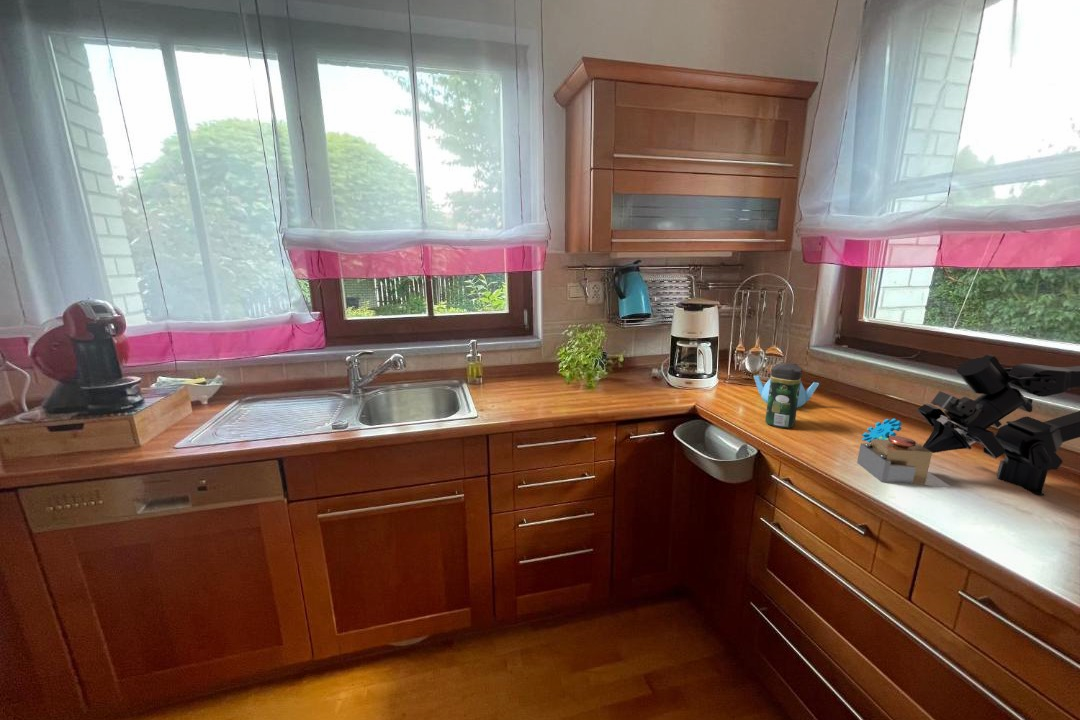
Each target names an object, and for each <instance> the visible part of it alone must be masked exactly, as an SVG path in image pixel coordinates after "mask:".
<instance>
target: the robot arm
mask: <svg viewBox="0 0 1080 720" xmlns="http://www.w3.org/2000/svg"><path fill="white" fill-rule="evenodd" d="M956 373H957V374H958V375H959V376H960V378H961V379H962V380H963V381H964V383H966V385H967V386H968V387H969V388H970V389H971V391H972V392H974V393H975V394H979V396H977V397H976V398H975V399H971V398H969V397H967V396H963V397H961V398H958V397H955V396H953V395H951V394H948V393H946V392H943V391H942V390H941V391H940V390H939V391H938V393H937V394H936V395H935V397H934V398H933V399H932V400H931V402H930V404H929V403H928V404H926V403H924V404H923V405H921V406H920V407H918V408H917V409H916V410H917V412H918V413H920V415H921V416H922V417H923V418H924V420H926V422H927V423H928V424H929V425H930V426H932V428H933V430H932V432H931V433H930V435H929V436H928V437H927V440H926V441H925V443H924V444H923V445H922V446H923V447H924V448H926V449H928V450H930V451H931V452H932V454H935V453H942V452H948V451H957V450H965V449H967V450H972V446H971V445H973V444H975V443H978V444H980V445H982V446H983V453H984V454H985V455H987V456H989V457H991V458H993V459H995V460H996V459H997V458H999V457H1001V456H1003V455H1005V456H1004V459H1003V460H999V463H998V467H997V468H998V469H997V472H996V477H997V479H998V480H999V481H1002V482H1005V483H1009V484H1011V485H1014V486H1017V487H1020V488H1022V489H1024V490H1026V491H1028V492H1030V493H1031V494H1034V495H1039V496H1045V492H1044V490H1043V489H1044V485H1045V482H1046V478H1047V475H1048V472H1049V471H1051V470H1054V471H1055V470H1058V469H1059V468H1060V466H1061V465H1062V463H1063V460H1062V459H1061V457H1060V456H1059V455H1058V454H1057V453H1056V452H1058V451H1059V449H1060V447H1061V446H1062V444H1063V443H1065V442H1068V441H1072V440H1075V439H1079V438H1080V410H1079V411H1075V412H1071V413H1069V414H1066V415H1063V416H1059V417H1056V418H1052V419H1049V420H1044V421H1041V420H1039V419H1035V418H1034V417H1031V416H1023V417H1020V418H1018V419H1016V420H1015V419H1014V420H1011V421H1006V424H1004V425H1003V424H1002V423H1001V420H1002V419H1004V418H1005V417H1007V416H1009V415H1010V414H1011V413H1013V412H1015V411H1016V410H1018V409H1019V410H1022V411H1025V412H1026V413H1027V412H1028V413H1031V412H1033V401H1034V400H1033V398H1030V397H1026V396H1024V395H1023V394H1022V392H1025V393H1027V394H1030V395H1033V396H1037V397H1041V398H1043V397H1049V396H1055V395H1059V394H1064V393H1065V392H1066V391H1068V390H1071V389H1074V388H1075V389H1076V388H1080V365H1074V366H1062V367H1060V366H1052V365H1050V366H1049V365H1043V364H1042V365H1041V364H1034V363H1033V364H1032V363H1019V364H1017V363H1016V364H1015V365H1014V366H1012V367H1009V368H1008V367H1007V368H1005V367H1003V366H1002V365H1001V364H1000V361H999V359H998V358H997V357H996V356H994V355H991V354H985V355H983V356H982V357H976V358H971V359H969V360H967V361H966V360H965V361H963V362H962V363H961V364H959V365H958V366H957V368H956ZM936 406H938V407H936ZM941 408H942V409H944V411H943V410H942V409H941ZM991 426H993V427H996V428H998V430H997V432H996V434H995V433H994V432H993V431H990V430H988V428H990V427H991Z"/></svg>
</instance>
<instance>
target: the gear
mask: <svg viewBox="0 0 1080 720" xmlns="http://www.w3.org/2000/svg"><path fill="white" fill-rule="evenodd" d="M902 423H903V422H901V420H897V419H896V418H892V419H891V420H890V419H889V418H886V419H884V420H883V422H882V423H881V422H880V421H878V422H875V424H874V425H875V427H872V426H870V427H868V428H867V431H868V432H867V431H865V432H864V433H863V434H862V436H863V437H862V439H861V440H862V442H863V441H865V442H867V443H868V444H871V440H872V439H884V440H888V439H889V436H898V435H897V433H896V432H900V431H901V430H902V427H901V426H902Z"/></svg>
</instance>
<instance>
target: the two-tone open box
mask: <svg viewBox="0 0 1080 720" xmlns="http://www.w3.org/2000/svg"><path fill="white" fill-rule="evenodd" d="M856 464H857V465H859V466H860V467H861V468H863V469H864V470H865V471H867V472H868V473H869V474H870V475H871V476H872V477H874V478H876V479H877V480H878V481H879V482H881V483H888V484H890V483H891V484H902V485H903V484H904V485H917V486H919V485H920V486H930V487H931V486H932V487H946V488H952V486H951V485H949V484H948V483H946V482H945V481H943V479H940V478H939V477H938V476H935V475H934V474H933V473H931V472H929V471H928V473H927V478H926V481H913V479H914V474H915V470H916V467H915V466H909V465H893V464H891V461H890V460H888V459H887V455H885V454H880V453H878V452H877V451H875V450H874V449H873V448H871V443H868V442H867V443H860V445H859V451H858V457H857V463H856Z"/></svg>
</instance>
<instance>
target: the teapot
mask: <svg viewBox="0 0 1080 720" xmlns="http://www.w3.org/2000/svg"><path fill="white" fill-rule="evenodd" d="M753 378H754V379H753V380H754V381H755V385H756V389H757V392H758V394H759V395H760V396H761V399H762V400H763V401H764V403H766V404H767V403H768V395H769V387H770V379H771V377H770V378H769V379H768V380H767V382H766V383H765V384H763V382H762V379H761V378H760V376H759V375H753ZM819 386H820V383H819V382H815V381H813V382H812V383H811V385H810V386H808V388H807V389H806V390H805V387H804V385H803V383H802V382H801V383H800V390H799V397H798V403H797V409H798V407H799V408H801V407H802V406H804V405H805V404H806V402H809V400H810V399H811V398H812V396H813V394H814V393H815V391H816V390H817V388H818V387H819Z"/></svg>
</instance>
